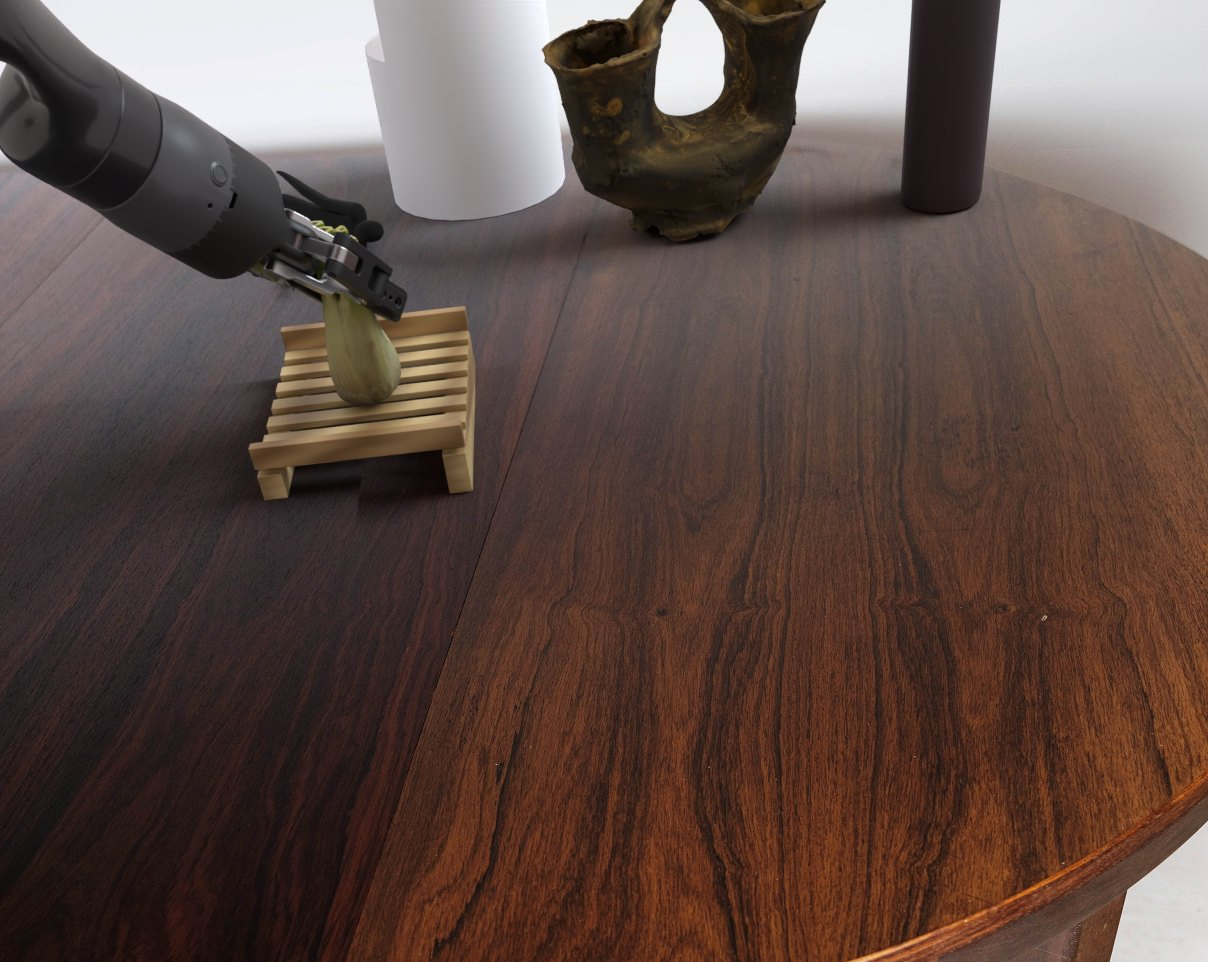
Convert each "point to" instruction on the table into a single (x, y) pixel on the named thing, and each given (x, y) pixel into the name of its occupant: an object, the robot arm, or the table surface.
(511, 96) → the cylinder
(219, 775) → the table surface
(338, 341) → the fennel bulb
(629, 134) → the pottery vessel
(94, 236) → the table surface
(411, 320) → the drying rack
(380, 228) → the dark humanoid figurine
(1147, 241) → the table surface
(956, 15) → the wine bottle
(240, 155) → the robot arm
